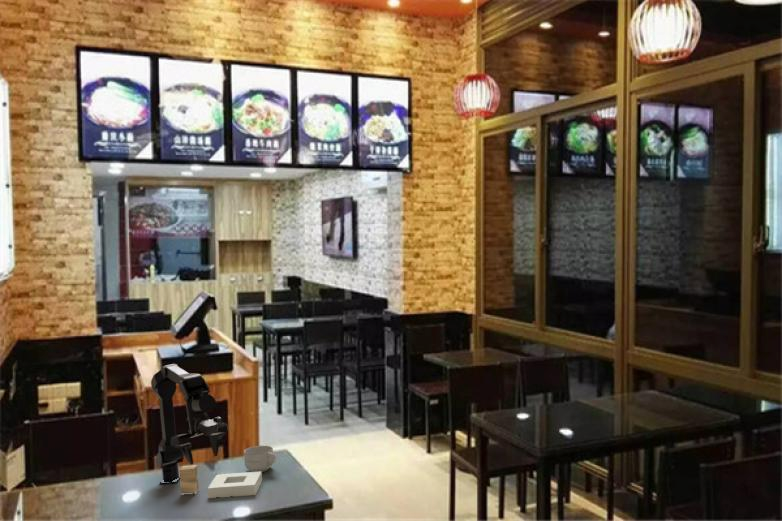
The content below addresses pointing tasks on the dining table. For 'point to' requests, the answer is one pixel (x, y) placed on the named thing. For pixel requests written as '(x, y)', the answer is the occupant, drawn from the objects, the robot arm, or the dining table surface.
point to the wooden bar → (189, 479)
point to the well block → (235, 484)
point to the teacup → (259, 458)
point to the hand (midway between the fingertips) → (204, 460)
